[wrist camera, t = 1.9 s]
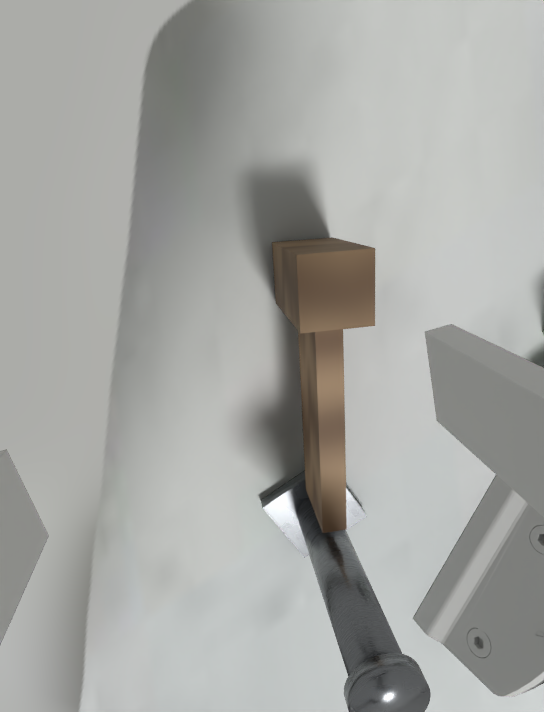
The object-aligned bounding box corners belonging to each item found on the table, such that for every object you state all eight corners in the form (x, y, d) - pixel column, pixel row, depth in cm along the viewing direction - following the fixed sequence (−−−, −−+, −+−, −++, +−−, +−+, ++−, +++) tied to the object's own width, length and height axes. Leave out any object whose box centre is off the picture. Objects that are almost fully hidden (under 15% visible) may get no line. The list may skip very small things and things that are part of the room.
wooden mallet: (337, 475, 37) (374, 545, 29) (287, 482, 36) (310, 555, 29) (332, 237, 31) (375, 248, 24) (272, 242, 31) (296, 254, 23)
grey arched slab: (501, 466, 39) (628, 554, 31) (530, 470, 42) (654, 552, 34) (410, 622, 43) (503, 735, 35) (442, 616, 46) (535, 721, 38)
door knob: (301, 549, 39) (368, 767, 24) (260, 500, 37) (305, 704, 22) (362, 508, 39) (469, 703, 24) (324, 456, 37) (415, 634, 22)
